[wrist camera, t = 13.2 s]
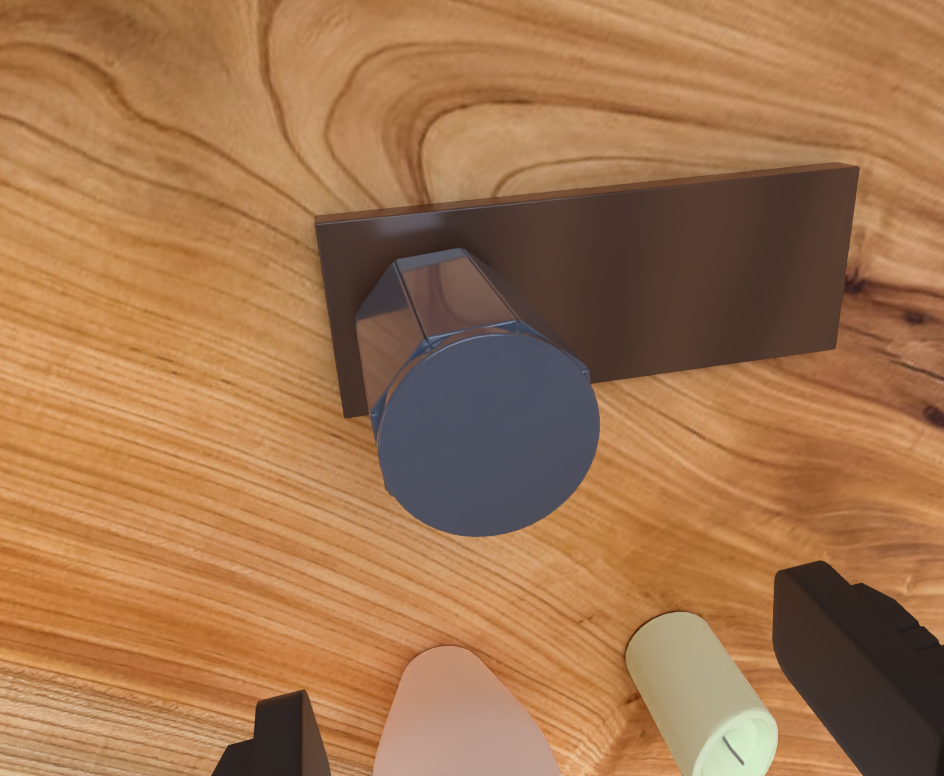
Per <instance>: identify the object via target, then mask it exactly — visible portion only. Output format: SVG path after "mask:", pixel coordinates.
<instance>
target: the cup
mask: <svg viewBox="0 0 944 776" xmlns="http://www.w3.org/2000/svg"><path fill="white" fill-rule="evenodd" d="M355 316H356V317H355V326H356V332H357V338H358V345H359V351H360V357H361V364H362V370H363V377H364V383H365V389H366V396H367V402H368V408H369V415H370V420H371V424H372V429H373V434H374V438H375V443H376V448H377V452H378V458H379V464H380V467H381V471H382V475H383V480H384V485H385V489H386V491H388V493H389V494H390V495H392V496H393V497H395V499H396V500H397V501H398V502H399V503H400V504H401V505H402V507H403V508H404V509H405V510H406V511H408V512H409V513H410V514H411V515H412V516H414V517H415V518H417V519H418V520H420V521H421V522H423V523H425V524H426V525H428V526H431V527H433V528H435V529H437V530H440V531H443V532H447V533H450V534H455V535H460V536H470V537H486V536H495V535H501V534H506V533H510V532H513V531H517V530H520V529H522V528H525V527H527V526H530V525H532V524H534V523H536V522H537V521H539V520H541V519H543V518H545V517H546V516H547V515H549V514H550V513H552V512H553V511H555V510H556V509H557V508H558V507H559V506H561V505H562V504H563V503H564V502H565V501H566V500H567V499H568V498H569V497H570V496H571V495H572V494H573V493H574V492H575V490H576V489H577V488H578V486H579V485H580V483H581V482H582V481H583V479H584V477H585V475H586V474H587V472H588V470H589V468H590V466H591V464H592V461H593V459H594V456H595V453H596V449H597V445H598V439H599V432H600V416H599V409H598V403H597V400H596V397H595V394H594V391H593V389H592V387H591V384H590V371H589V369H588V368H587V366H586V364H585V363H584V362H583V361H582V360H581V359H580V357H579V356H578V355H577V354H576V353H575V352H574V351H573V350H572V349H571V347H570V346H569V345H568V344H567V343H566V342H565V341H564V340H563V338H562V337H561V336H560V335H559V334H558V333H557V332H556V331H555V330H554V328H553V327H552V326H551V325H550V324H549V323H548V322H547V321H546V319H545V318H544V317H543V316H542V315H541V314H540V313H539V312H538V310H537V309H536V308H535V307H534V306H533V305H532V304H531V303H530V302H529V300H528V299H527V298H526V297H525V296H524V295H523V294H522V293H521V291H520V290H519V289H518V288H517V287H516V286H515V285H514V284H513V283H512V282H510V281H509V280H508V279H506V278H505V277H503V276H502V275H501V274H499V273H498V272H496V271H495V270H494V269H492V268H491V267H489V266H488V265H487V264H485V263H484V262H482V261H481V260H480V259H478V258H477V257H475V256H474V255H473V254H471V253H470V252H469V251H467V250H466V249H461V248H456V249H451V250H445V251H440V252H434V253H429V254H423V255H418V256H412V257H407V258H401V259H397V260H395V262H392V263H391V264H390V266H389V267H388V269H387V270H386V271H385V273H384V274H383V276H382V277H381V279H380V280H379V281H378V283H377V284H376V286H375V287H374V289H373V290H372V291H371V293H370V294H369V296H368V297H367V298H366V300H365V301H364V303H363V304H362V306H361V307H360V308H359V310H358V311H357V313H356V315H355Z"/></svg>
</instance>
